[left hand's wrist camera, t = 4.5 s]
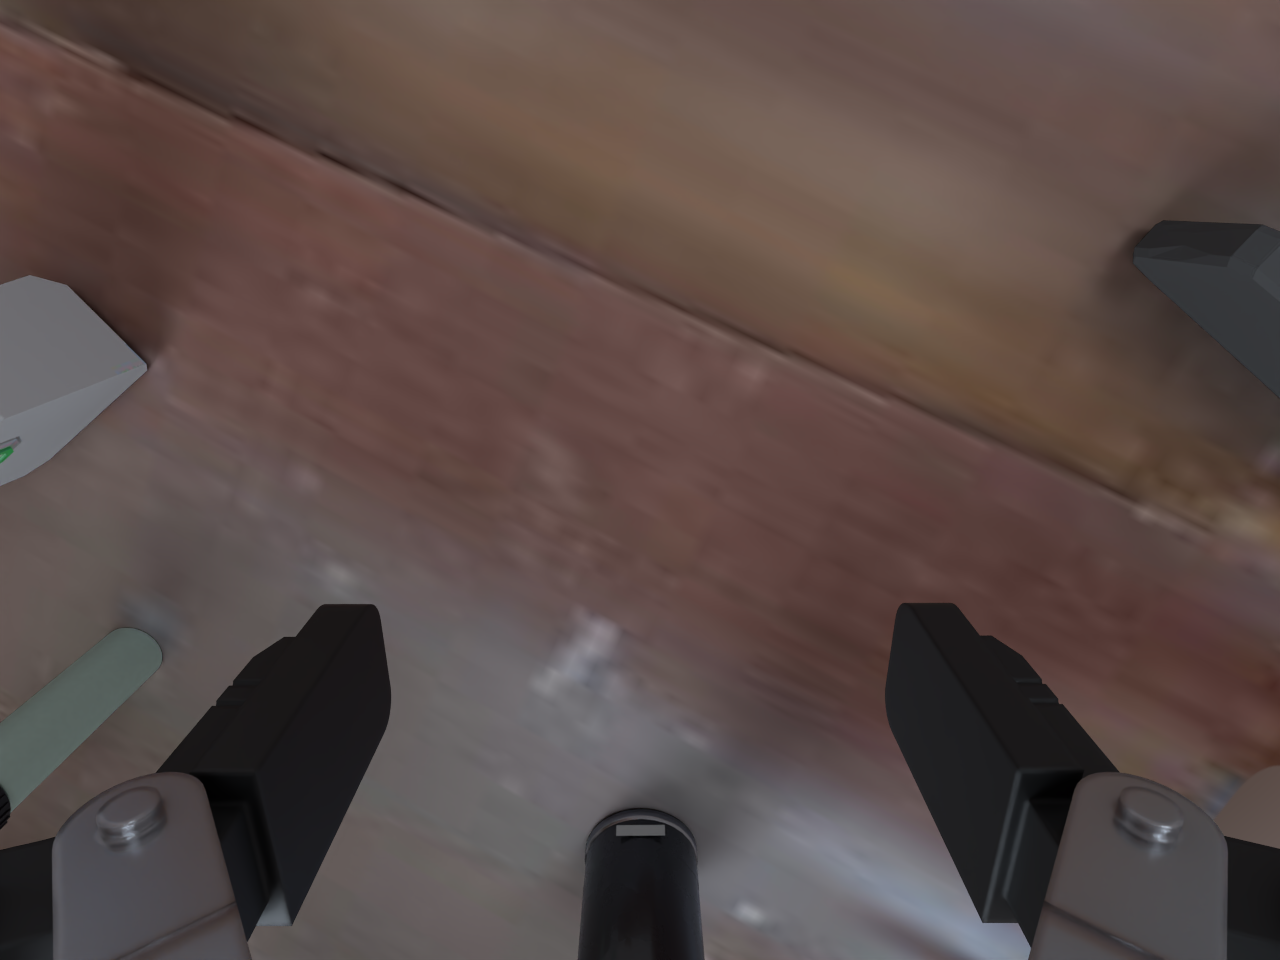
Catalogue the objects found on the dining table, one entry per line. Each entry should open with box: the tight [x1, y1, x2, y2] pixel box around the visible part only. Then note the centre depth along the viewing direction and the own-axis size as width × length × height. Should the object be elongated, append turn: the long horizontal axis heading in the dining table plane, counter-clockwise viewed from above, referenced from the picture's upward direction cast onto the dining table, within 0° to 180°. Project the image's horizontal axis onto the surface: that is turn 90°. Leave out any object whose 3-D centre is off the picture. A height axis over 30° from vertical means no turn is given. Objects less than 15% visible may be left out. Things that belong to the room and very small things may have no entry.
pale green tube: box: [0, 628, 162, 813], centre depth 47 cm, size 4×4×16 cm
